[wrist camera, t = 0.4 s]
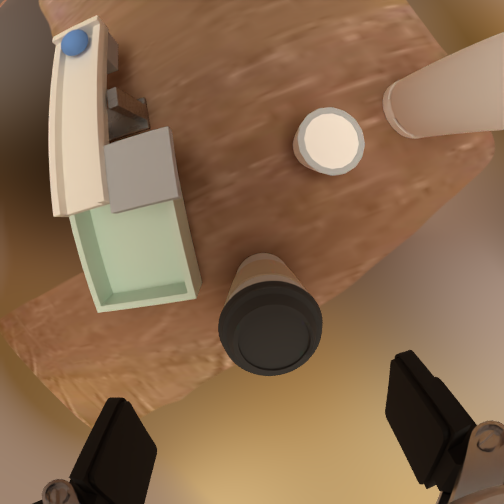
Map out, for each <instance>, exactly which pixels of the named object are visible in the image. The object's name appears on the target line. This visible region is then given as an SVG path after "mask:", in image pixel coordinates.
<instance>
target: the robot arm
mask: <svg viewBox="0 0 504 504" xmlns="http://www.w3.org/2000/svg"><path fill="white" fill-rule="evenodd" d="M385 414H386V418H387V420H388V422H389V424H390V426H391V428H392V430H393V432H394V434H395V436H396V438H397V440H398V442H399V444H400V446H401V448H402V450H403V452H404V454H405V456H406V458H407V460H408V462H409V464H410V466H411V468H412V470H413V472H414V474H415V476H416V478H417V480H418V482H419V484H424V485H425V487H426V489H428V488H430V487H433V486H435V485H437V487H438V489H439V491H441V492H440V495H439V497H438V500H437V502H436V504H504V425H503V424H502V423H500V422H497V421H485V422H483V423H480V424H479V425H476V424H475V422H474V421H473V420H472V418H471V417H470V416H469V414H468V413H467V412H466V411H465V409H464V408H463V407H462V405H461V404H460V403H459V402H458V400H457V399H456V398H455V397H454V395H453V394H452V393H451V392H450V390H449V389H448V388H447V387H446V385H445V384H444V383H443V382H442V381H441V380H440V379H439V378H437V377H434V376H433V375H432V374H431V372H430V371H429V370H428V369H427V368H426V366H425V365H424V364H423V363H422V362H421V361H420V359H419V358H418V357H417V356H416V354H415V353H414V352H413V351H412V350H408V351H406V352H402V353H399V354H397V355H396V356H395V359H393V360H391V364H390V375H389V386H388V394H387V402H386V409H385ZM156 455H157V448H156V445H155V443H154V442H153V440H152V439H151V437H150V436H149V434H148V432H147V431H146V429H145V427H144V426H143V424H142V422H141V421H140V419H139V417H138V416H137V414H136V412H135V410H134V409H133V407H132V405H131V403H130V402H129V401H126V399H124V398H108V400H107V401H106V403H105V405H104V407H103V409H102V411H101V413H100V415H99V417H98V419H97V421H96V423H95V425H94V427H93V429H92V431H91V433H90V435H89V437H88V439H87V441H86V443H85V445H84V447H83V449H82V451H81V454H80V455H79V457H78V459H77V462H76V464H75V466H74V468H73V470H72V472H71V474H70V477H69V478H70V479H71V480H70V482H68V481H66V480H63V479H56V480H53V481H51V482H49V483H48V484H47V485H46V486H45V487H44V489H43V492H42V500H40V501H38V502H35V503H33V504H144V503H145V498H146V494H147V490H148V486H149V482H150V478H151V474H152V470H153V466H154V462H155V459H156Z"/></svg>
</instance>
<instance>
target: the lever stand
mask: <svg viewBox="0 0 504 504" xmlns="http://www.w3.org/2000/svg"><path fill="white" fill-rule="evenodd" d="M107 98H108V107H109V109H108V110H107V113H108V132H109V141H112V140H115V139H118V138H121V137H124V136H127V135H130V134H134V133H137V132H140V131H143V130H147V129H150V124H149V117H148V111H147V104H146V99H145V98H144V97H143V98H140V99H137V100H136V99H135V98H133V97H132V96H130V95H129V94H127V93H125V92H124V91H122V90H121V89H119V88H117V87H114V88H111V89H109V90H107Z"/></svg>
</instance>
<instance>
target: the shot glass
mask: <svg viewBox="0 0 504 504" xmlns="http://www.w3.org/2000/svg"><path fill="white" fill-rule="evenodd" d="M364 146H365V143H364V137H363V132H362V130H361V128H360V126H359V125H358V123H357V121H356V120H355V119H354V118H353V117H352V116H350V115H349V114H348V113H347V112H345V111H343V110H340V109H336V108H333V107H328V108H319V109H317V110H315V111H313V112H312V113H310V114H308V115H307V116H306V118H305V119H304V121H303V122H302V123H301V125H300V126H299V128H298V130H297V132H296V134H295V136H294V140H293V151H294V155H295V156H296V158H297V159H298V161H299V162H300V163H301V164H303V165H304V166H305V167H307V168H309V169H312V170H315V171H317V172H320V173H324V174H328V175H331V176H332V175H339V174H345V173H347V172H348V171H350V170H351V169H353V168H355V167H356V165H357V164H358V162H359V161H360V159H361V158H362V156H363V151H364Z"/></svg>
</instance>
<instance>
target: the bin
mask: <svg viewBox="0 0 504 504" xmlns="http://www.w3.org/2000/svg"><path fill="white" fill-rule="evenodd" d="M177 171H178V170H177ZM178 177H179V176H178ZM179 183H180V181H179ZM180 190H181V186H180ZM181 196H182V191H181ZM69 218H70V223H71V227H72V231H73V235H74V239H75V242H76V246H77V250H78V253H79V257H80V260H81V263H82V267H83V270H84V273H85V277H86V280H87V283H88V286H89V289H90V292H91V295H92V298H93V300H94V303H95V306H96V309H97V311H98V313H99V312H107V311H115V310H122V309H130V308H137V307H144V306H151V305H158V304H165V303H172V302H178V301H185V300H191V299H196V298H197V296H198V293H199V290H200V287H201V285H202V279H201V275H200V271H199V267H198V263H197V259H196V255H195V250H194V246H193V242H192V237H191V233H190V228H189V224H188V219H187V215H186V210H185V205H184V200H183V196H182V198H180V199H176V200H171V201H167V202H162V203H158V204H154V205H150V206H146V207H142V208H138V209H134V210H130V211H126V212H122V213H118V214H115V213H111V208H110V204H108V205H105V206H101V207H98V208H94V209H91V210H88V211H84V212H81V213H78V214H75V215H71V216H69Z"/></svg>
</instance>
